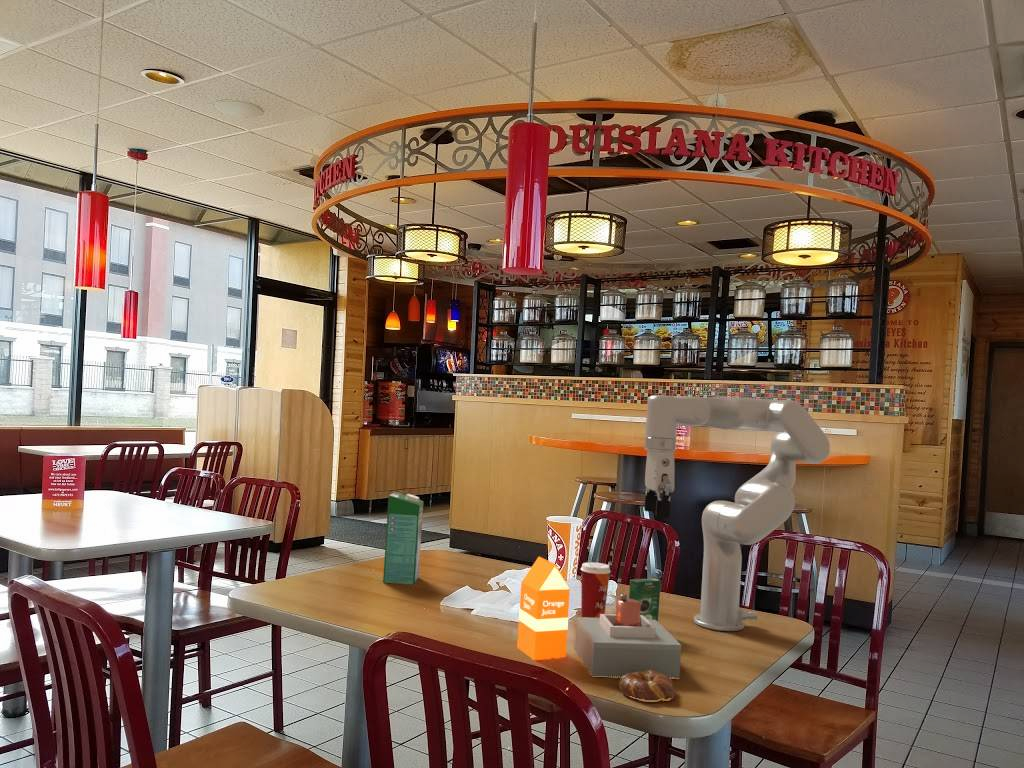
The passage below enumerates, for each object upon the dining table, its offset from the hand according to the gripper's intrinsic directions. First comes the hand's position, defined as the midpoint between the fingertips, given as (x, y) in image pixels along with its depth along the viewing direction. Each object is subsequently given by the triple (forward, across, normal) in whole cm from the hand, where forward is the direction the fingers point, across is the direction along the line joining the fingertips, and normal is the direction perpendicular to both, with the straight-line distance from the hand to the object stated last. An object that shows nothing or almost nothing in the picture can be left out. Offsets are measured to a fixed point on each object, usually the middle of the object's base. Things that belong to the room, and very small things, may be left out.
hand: (656, 514), depth 195 cm
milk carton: (+28, +42, +62) cm, 80 cm away
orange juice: (+28, -20, +30) cm, 46 cm away
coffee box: (+28, -4, +3) cm, 29 cm away
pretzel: (+29, -42, +13) cm, 53 cm away
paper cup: (+28, +6, +13) cm, 32 cm away
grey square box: (+28, -26, +13) cm, 41 cm away
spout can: (+25, -26, +13) cm, 38 cm away
